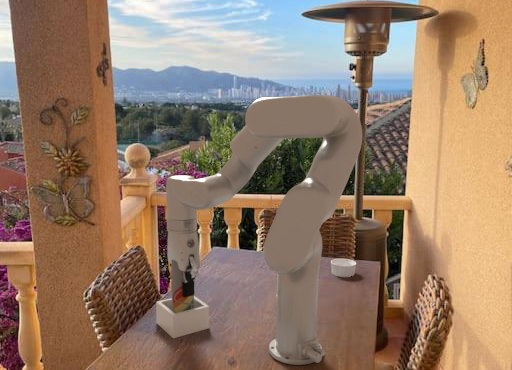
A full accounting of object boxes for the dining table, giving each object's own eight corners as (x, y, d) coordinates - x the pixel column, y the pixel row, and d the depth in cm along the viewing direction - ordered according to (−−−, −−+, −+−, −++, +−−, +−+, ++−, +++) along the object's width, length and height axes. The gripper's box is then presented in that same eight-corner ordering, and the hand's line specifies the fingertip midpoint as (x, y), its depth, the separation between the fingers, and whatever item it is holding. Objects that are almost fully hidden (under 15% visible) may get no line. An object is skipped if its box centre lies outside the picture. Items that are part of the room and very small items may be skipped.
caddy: (209, 328, 124) (209, 306, 123) (173, 338, 119) (173, 315, 118) (191, 314, 133) (190, 293, 132) (156, 323, 127) (156, 301, 126)
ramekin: (330, 268, 173) (331, 257, 172) (356, 270, 171) (356, 259, 170) (329, 277, 164) (329, 265, 163) (355, 279, 162) (356, 267, 162)
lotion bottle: (189, 320, 122) (188, 244, 119) (168, 318, 123) (167, 243, 120) (197, 311, 127) (196, 238, 124) (176, 309, 128) (175, 237, 125)
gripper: (211, 229, 116) (211, 300, 119) (180, 216, 130) (181, 279, 133) (183, 233, 112) (184, 306, 115) (154, 219, 126) (155, 285, 129)
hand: (182, 291), depth 124 cm, fingers closed on lotion bottle, 5 cm apart
